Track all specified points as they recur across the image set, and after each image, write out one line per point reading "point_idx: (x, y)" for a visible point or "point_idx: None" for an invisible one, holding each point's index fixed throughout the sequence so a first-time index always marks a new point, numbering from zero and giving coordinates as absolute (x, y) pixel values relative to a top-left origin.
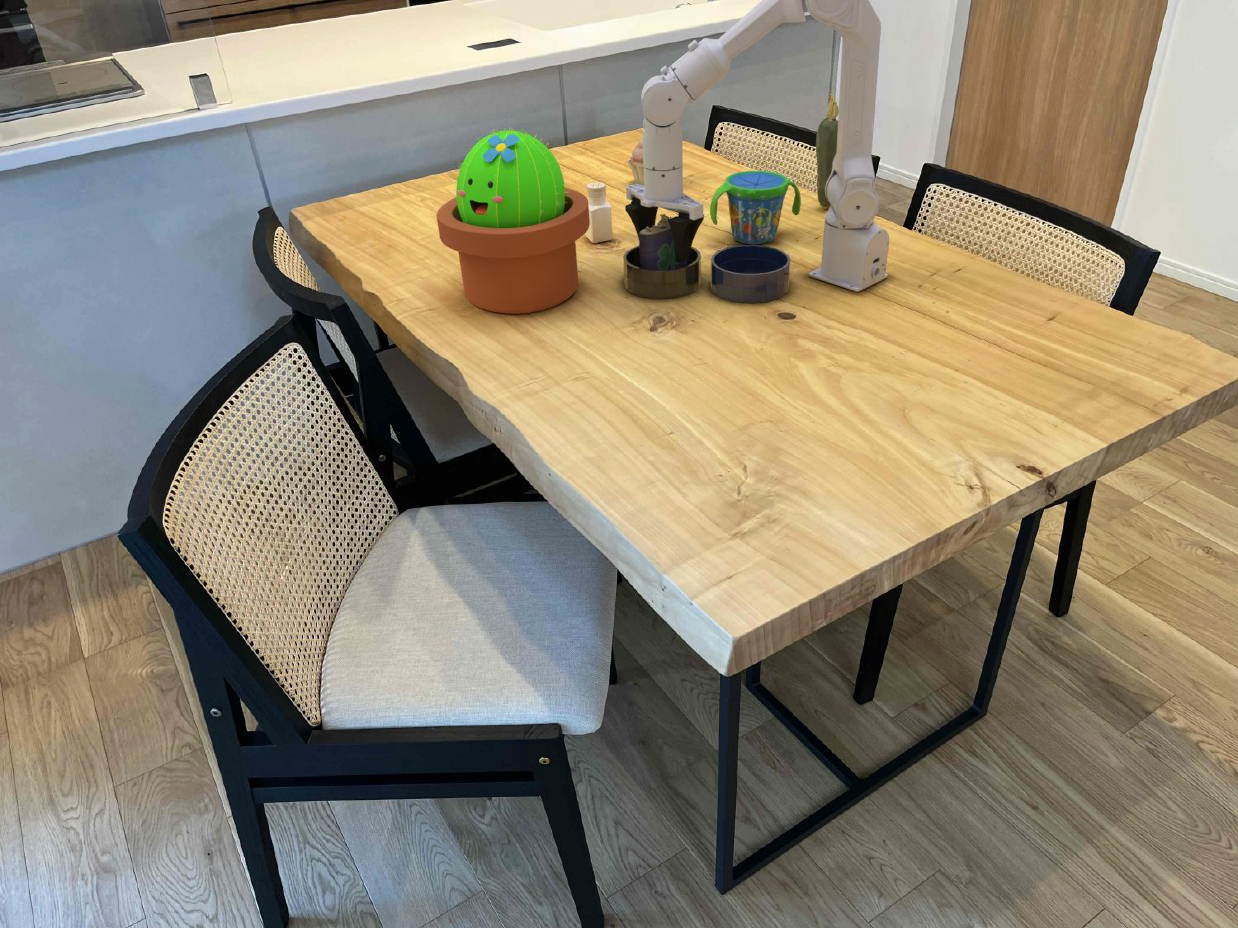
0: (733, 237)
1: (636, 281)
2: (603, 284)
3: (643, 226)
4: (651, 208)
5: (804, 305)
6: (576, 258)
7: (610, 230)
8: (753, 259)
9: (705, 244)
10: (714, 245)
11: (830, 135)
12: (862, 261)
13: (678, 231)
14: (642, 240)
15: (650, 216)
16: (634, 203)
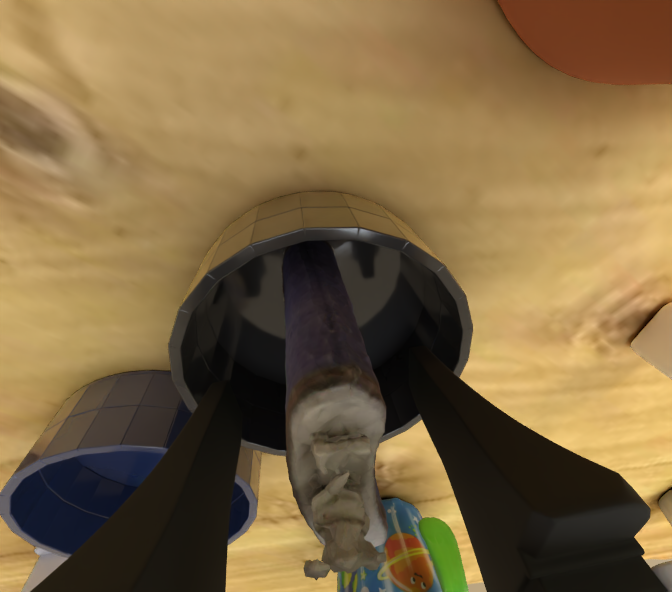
0: (399, 501)
1: (288, 211)
2: (453, 156)
3: (455, 435)
4: (490, 556)
5: (6, 472)
6: (628, 8)
7: (655, 360)
8: (232, 501)
9: (427, 460)
10: (409, 468)
11: None
12: None
13: (89, 549)
14: (315, 359)
15: (469, 503)
16: (605, 556)
